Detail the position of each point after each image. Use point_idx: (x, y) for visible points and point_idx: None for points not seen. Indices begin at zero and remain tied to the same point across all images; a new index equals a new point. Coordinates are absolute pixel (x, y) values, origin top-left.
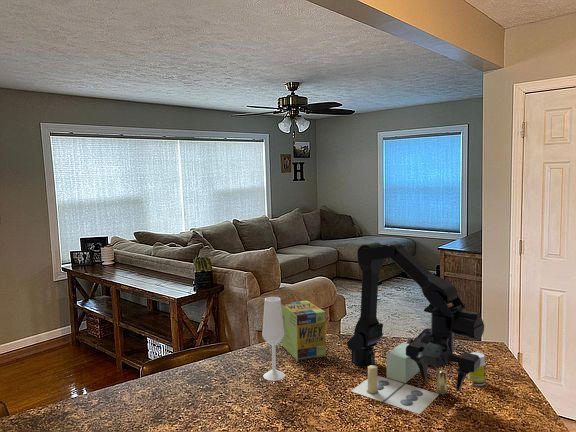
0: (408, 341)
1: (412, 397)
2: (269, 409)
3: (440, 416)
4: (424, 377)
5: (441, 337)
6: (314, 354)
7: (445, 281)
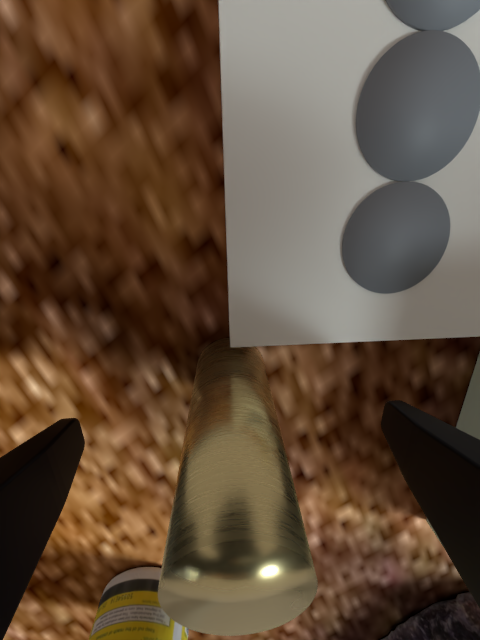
0: None
1: (413, 118)
2: None
3: (73, 23)
4: (419, 424)
5: None
6: None
7: None
